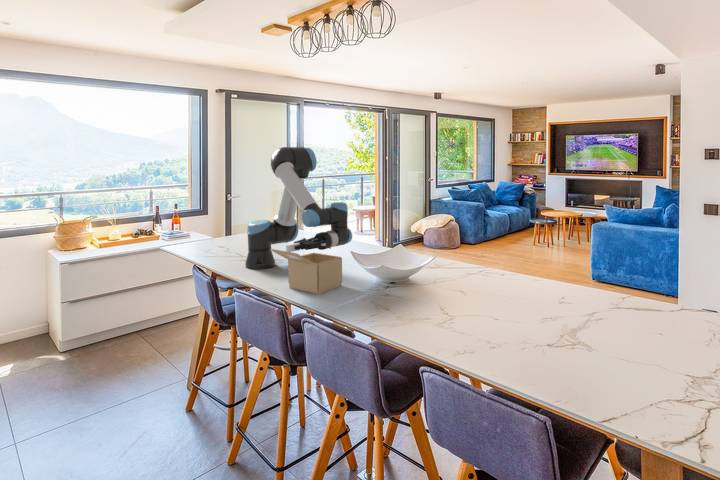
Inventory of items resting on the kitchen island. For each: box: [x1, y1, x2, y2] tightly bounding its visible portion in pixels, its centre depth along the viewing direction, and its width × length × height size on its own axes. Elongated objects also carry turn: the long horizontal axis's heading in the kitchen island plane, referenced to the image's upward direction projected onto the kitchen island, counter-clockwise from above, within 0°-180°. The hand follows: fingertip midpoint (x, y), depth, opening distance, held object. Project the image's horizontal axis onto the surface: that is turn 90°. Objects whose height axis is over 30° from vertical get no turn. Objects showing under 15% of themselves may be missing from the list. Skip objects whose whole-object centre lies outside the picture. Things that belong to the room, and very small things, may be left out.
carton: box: [287, 252, 343, 295], centre depth 206 cm, size 18×17×13 cm
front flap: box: [270, 248, 315, 264], centre depth 193 cm, size 15×1×12 cm
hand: (287, 248), depth 189 cm, fingers closed
